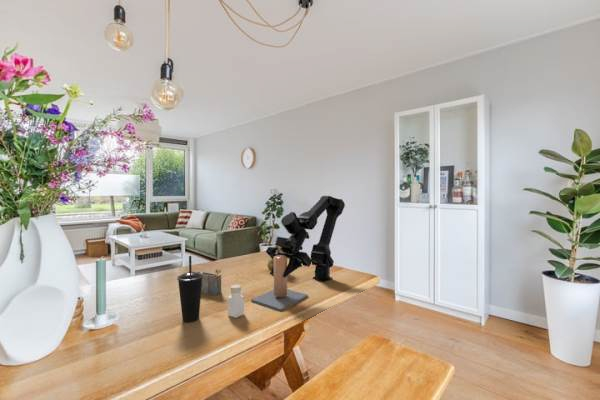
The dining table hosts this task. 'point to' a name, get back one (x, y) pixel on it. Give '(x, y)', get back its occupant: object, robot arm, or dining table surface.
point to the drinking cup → (190, 294)
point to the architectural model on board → (211, 283)
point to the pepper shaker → (235, 302)
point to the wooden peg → (280, 275)
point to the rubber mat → (279, 299)
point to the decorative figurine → (270, 262)
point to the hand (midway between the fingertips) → (278, 275)
